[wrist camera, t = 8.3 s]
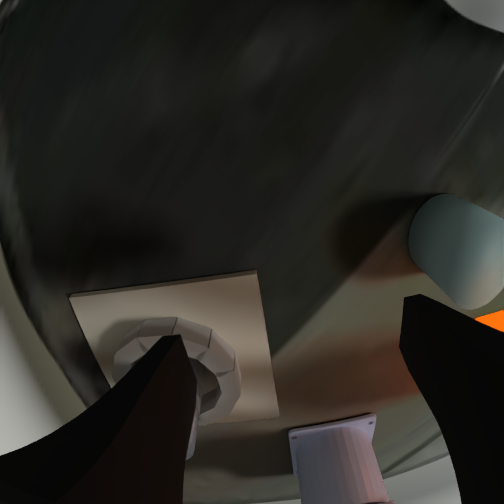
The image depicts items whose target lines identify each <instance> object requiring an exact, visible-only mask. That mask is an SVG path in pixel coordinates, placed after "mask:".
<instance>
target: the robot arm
mask: <svg viewBox="0 0 504 504" xmlns="http://www.w3.org/2000/svg"><path fill="white" fill-rule="evenodd" d="M399 348H400V351H401V353H402V356H403V358H404V361H405V363H406V365H407V368H408V370H409V372H410V374H411V376H412V377H413V379H414V381H415V383H416V384H417V386H418V388H419V390H420V392H421V393H422V395H423V397H424V399H425V400H426V402H427V404H428V406H429V407H430V409H431V411H432V413H433V415H434V416H435V418H436V420H437V422H438V425H439V427H440V429H441V431H442V434H443V437H444V440H445V442H446V445H447V448H448V451H449V454H450V456H451V460H452V464H453V467H454V470H455V474H456V478H457V483H458V487H459V492H460V496H461V503H462V504H504V332H503V331H500V330H497V329H495V328H493V327H490V326H488V325H486V324H483V323H481V322H479V321H477V320H475V319H473V318H470V317H468V316H466V315H464V314H462V313H460V312H458V311H456V310H454V309H452V308H450V307H448V306H446V305H444V304H442V303H440V302H438V301H436V300H434V299H431V298H429V297H427V296H424V295H422V294H417V295H413V296H409V297H404V304H403V316H402V326H401V335H400V343H399ZM196 396H197V379H196V376H195V373H194V371H193V368H192V365H191V362H190V360H189V357H188V354H187V351H186V349H185V346H184V343H183V340H182V337H181V334H177V335H166V336H162V337H161V338H160V339H159V340H158V341H157V342H156V343H155V344H154V345H153V346H152V347H151V348H150V349H149V350H148V351H147V352H146V354H145V355H144V356H143V357H142V358H141V359H140V360H139V361H138V362H137V363H136V364H135V365H134V366H133V367H132V368H131V369H130V370H129V371H128V373H127V374H126V375H125V376H124V377H123V378H121V379H120V380H119V381H118V382H117V383H116V384H115V385H114V386H113V387H112V388H111V389H110V390H109V391H108V392H107V393H106V394H105V395H104V396H102V397H101V398H100V399H99V400H98V401H97V402H95V403H94V404H93V405H92V406H90V407H89V408H88V409H86V410H85V411H84V412H83V413H81V414H80V415H79V416H77V417H76V418H74V419H73V420H71V421H70V422H68V423H67V424H65V425H63V426H62V427H60V428H59V429H57V430H56V431H54V432H53V433H51V434H49V435H47V436H45V437H43V438H41V439H39V440H37V441H35V442H33V443H31V444H29V445H27V446H25V447H22V448H20V449H18V450H15V451H12V452H9V453H7V454H4V455H1V456H0V504H183V480H184V468H185V461H186V456H187V451H188V445H189V440H190V435H191V430H192V425H193V419H194V414H195V408H196ZM375 424H376V415H375V414H368V415H364V416H359V417H355V418H351V419H346V420H341V421H336V422H331V423H326V424H321V425H315V426H309V427H303V428H296V429H291V430H290V431H289V432H288V435H289V442H290V450H291V457H292V465H293V472H294V477H297V478H298V479H299V487H300V495H301V503H302V504H394V502H393V500H392V501H389V499H388V496H387V492H386V489H385V486H384V482H383V479H382V476H381V473H380V469H379V466H378V463H377V460H376V457H375V454H374V451H373V448H372V445H371V442H372V438H373V433H374V428H375Z"/></svg>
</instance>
